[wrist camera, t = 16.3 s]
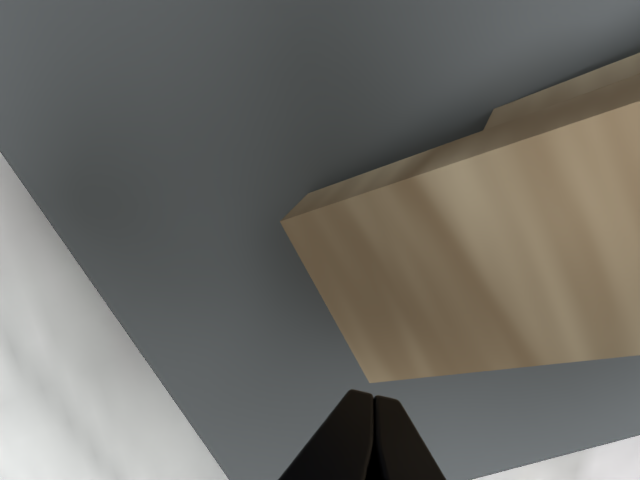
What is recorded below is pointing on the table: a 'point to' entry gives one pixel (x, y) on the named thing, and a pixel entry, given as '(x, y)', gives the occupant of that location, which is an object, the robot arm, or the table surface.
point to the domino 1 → (488, 245)
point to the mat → (286, 196)
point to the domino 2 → (566, 90)
